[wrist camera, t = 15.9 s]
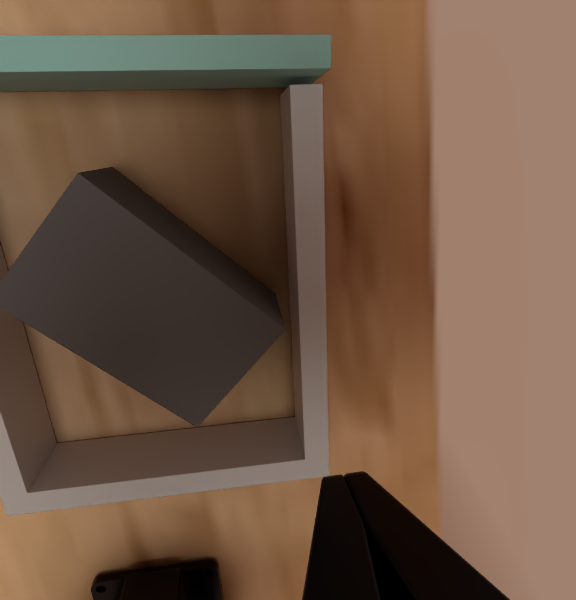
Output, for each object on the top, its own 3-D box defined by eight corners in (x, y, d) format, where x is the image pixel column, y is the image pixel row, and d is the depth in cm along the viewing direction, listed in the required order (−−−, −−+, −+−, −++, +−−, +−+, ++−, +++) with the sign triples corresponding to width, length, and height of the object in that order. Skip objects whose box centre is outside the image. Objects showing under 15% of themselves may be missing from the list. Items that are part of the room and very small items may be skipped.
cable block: (204, 373, 19) (197, 427, 16) (41, 266, 17) (-13, 300, 13) (275, 292, 19) (285, 329, 15) (114, 166, 16) (77, 172, 12)
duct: (316, 431, 21) (336, 503, 17) (-9, 468, 20) (-76, 557, 15) (305, 45, 15) (332, 7, 11) (-156, 58, 14) (-326, 19, 10)
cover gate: (307, 87, 15) (331, 68, 12) (-87, 93, 14) (-203, 74, 10) (307, 61, 15) (331, 34, 11) (-95, 66, 14) (-218, 36, 10)
